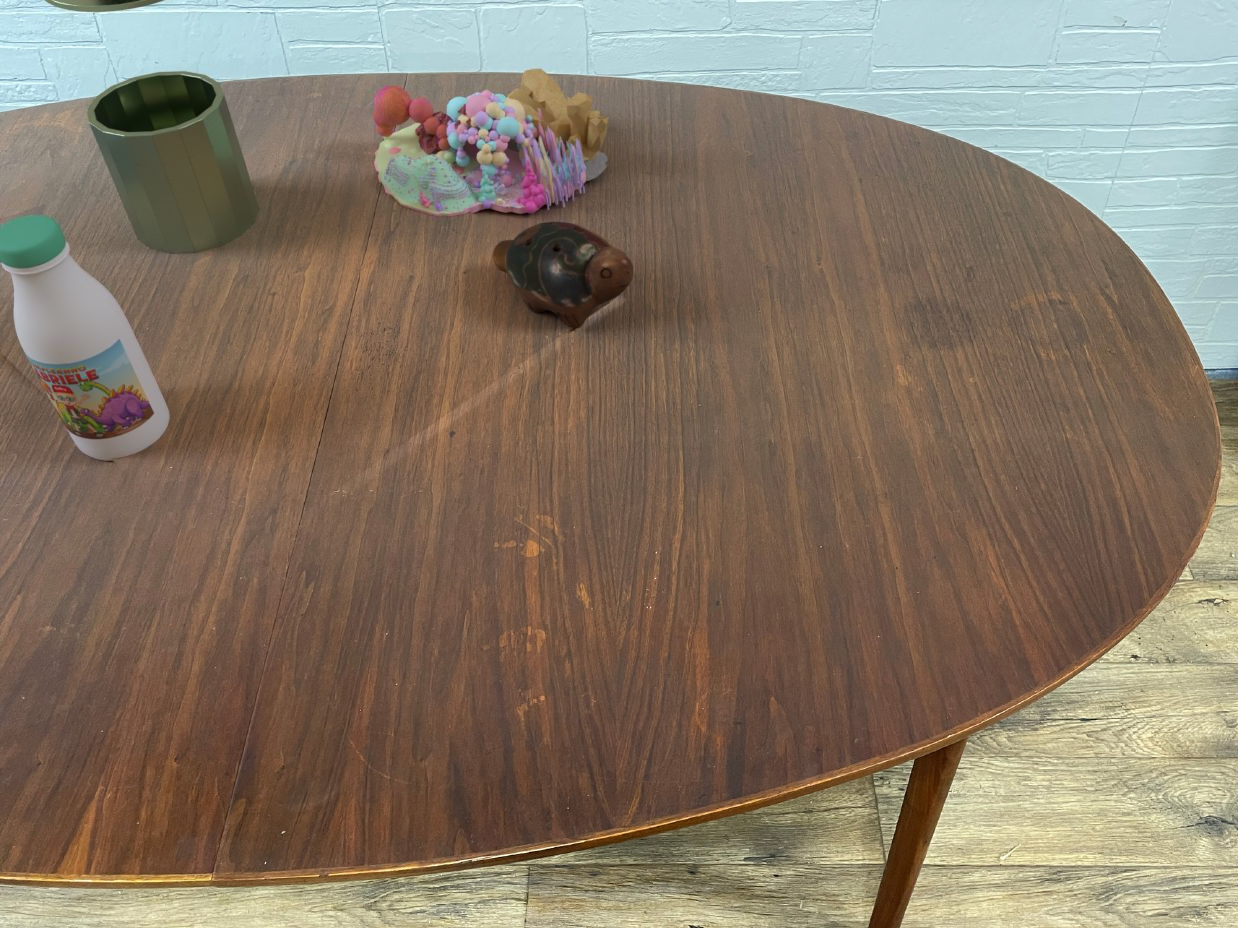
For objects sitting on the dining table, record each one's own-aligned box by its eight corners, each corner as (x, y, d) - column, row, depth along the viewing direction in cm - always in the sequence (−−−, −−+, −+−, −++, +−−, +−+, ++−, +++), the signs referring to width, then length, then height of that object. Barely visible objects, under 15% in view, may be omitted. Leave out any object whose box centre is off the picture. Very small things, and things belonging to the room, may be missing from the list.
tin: (178, 273, 103) (129, 150, 93) (114, 225, 109) (62, 105, 99) (283, 219, 109) (248, 99, 99) (217, 177, 115) (178, 59, 105)
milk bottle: (91, 401, 90) (-14, 202, 76) (181, 396, 91) (93, 197, 76) (65, 466, 85) (-53, 266, 71) (160, 461, 86) (62, 260, 71)
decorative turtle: (615, 355, 94) (606, 284, 88) (475, 317, 99) (457, 248, 93) (662, 290, 99) (656, 220, 93) (526, 258, 105) (512, 189, 99)
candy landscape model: (531, 91, 127) (526, 16, 120) (646, 175, 114) (647, 96, 107) (344, 156, 118) (326, 78, 111) (446, 256, 104) (433, 175, 98)
